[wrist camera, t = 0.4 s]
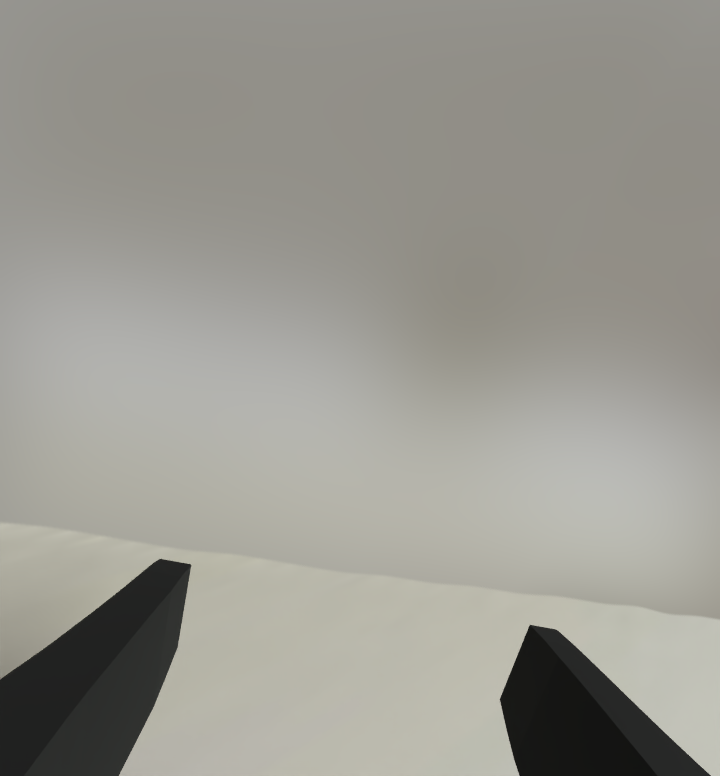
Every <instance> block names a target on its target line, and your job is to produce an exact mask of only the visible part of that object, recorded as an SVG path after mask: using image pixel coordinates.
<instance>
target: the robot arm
mask: <svg viewBox="0 0 720 776" xmlns="http://www.w3.org/2000/svg"><path fill="white" fill-rule="evenodd" d="M190 569H191V564H186V563H180V562H174V561H169V560H163V559H159V560H158V561H156V562H154V563H153V564H152V565H150V566H149V567H148V568H147V569H146V570H144V571H143V572H142V573H141V574H140V575H138V576H137V577H136V578H135V579H134V580H132V581H131V582H130V583H129V584H127V585H126V586H125V587H124V588H123V589H121V590H120V591H119V592H118V593H116V594H115V595H114V596H113V597H111V598H110V599H109V600H108V601H106V602H105V603H104V604H102V605H101V606H100V607H99V608H97V609H96V610H95V611H94V612H92V613H91V614H90V615H88V616H87V617H86V618H84V619H83V620H82V621H80V622H79V623H78V624H76V625H75V626H74V627H72V628H71V629H70V630H68V631H67V632H66V633H65V634H63V635H62V636H61V637H59V638H58V639H57V640H55V641H54V642H53V643H51V644H50V645H48V646H47V647H46V648H44V649H43V650H42V651H40V652H39V653H37V654H36V655H34V656H33V657H32V658H30V659H29V660H27V661H26V662H24V663H23V664H22V665H20V666H19V667H17V668H16V669H14V670H13V671H12V672H10V673H9V674H7V675H6V676H4V677H3V678H2V679H0V776H119V774H120V772H121V770H122V768H123V766H124V764H125V762H126V760H127V758H128V756H129V754H130V752H131V750H132V748H133V746H134V745H135V743H136V741H137V739H138V737H139V735H140V733H141V731H142V729H143V727H144V725H145V723H146V721H147V719H148V717H149V715H150V713H151V711H152V709H153V707H154V704H155V702H156V700H157V697H158V695H159V692H160V690H161V687H162V685H163V682H164V680H165V678H166V675H167V673H168V670H169V667H170V665H171V662H172V660H173V657H174V655H175V652H176V650H177V647H178V641H179V635H180V629H181V623H182V617H183V611H184V605H185V599H186V593H187V587H188V581H189V575H190ZM500 701H501V706H502V710H503V715H504V719H505V724H506V728H507V733H508V737H509V741H510V744H511V748H512V752H513V756H514V760H515V763H516V766H517V769H518V772H519V775H520V776H711V775H709V774H708V773H707V772H706V771H705V770H704V769H703V768H702V767H701V766H700V765H698V764H697V763H696V762H695V761H694V760H693V759H692V758H691V757H690V756H689V755H688V754H687V753H686V752H685V751H683V750H682V749H681V748H680V747H679V746H678V745H677V744H676V743H675V742H674V741H673V740H672V739H671V738H670V737H669V736H668V735H667V734H665V733H664V732H663V731H662V730H661V729H660V728H659V727H658V726H657V725H656V724H655V723H654V722H653V721H652V720H651V719H650V718H649V717H648V716H647V715H646V714H645V713H644V712H643V711H642V710H641V709H639V708H638V707H637V706H636V705H635V704H634V703H633V702H632V701H631V700H630V699H629V698H628V697H627V696H626V695H625V694H624V693H623V692H622V691H621V690H620V689H619V688H618V687H617V686H616V685H615V684H614V683H613V682H612V681H611V680H610V679H609V678H608V677H607V676H606V675H605V674H604V673H603V672H601V671H600V670H599V669H598V668H597V667H596V666H595V665H594V664H593V663H592V662H591V661H590V660H589V659H588V658H587V657H586V656H585V655H584V654H583V653H582V652H581V651H580V650H579V649H577V648H576V647H575V646H574V645H573V644H572V643H571V642H570V641H569V640H568V639H567V638H565V637H564V636H563V635H562V634H561V633H560V632H559V631H557V630H555V629H550V628H544V627H538V626H533V625H530V626H529V628H528V631H527V633H526V636H525V638H524V641H523V643H522V646H521V648H520V651H519V653H518V656H517V658H516V661H515V663H514V666H513V668H512V671H511V673H510V675H509V678H508V680H507V683H506V685H505V688H504V690H503V693H502V695H501V698H500Z"/></svg>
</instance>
